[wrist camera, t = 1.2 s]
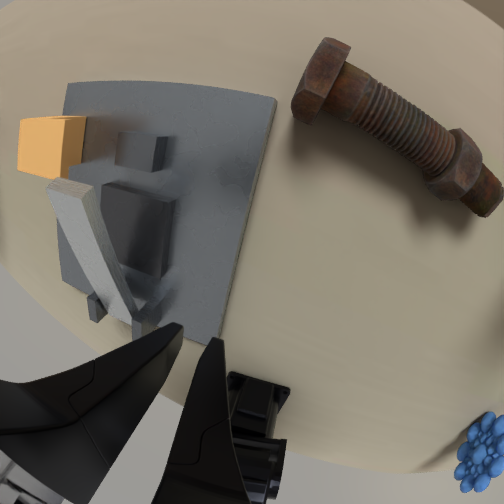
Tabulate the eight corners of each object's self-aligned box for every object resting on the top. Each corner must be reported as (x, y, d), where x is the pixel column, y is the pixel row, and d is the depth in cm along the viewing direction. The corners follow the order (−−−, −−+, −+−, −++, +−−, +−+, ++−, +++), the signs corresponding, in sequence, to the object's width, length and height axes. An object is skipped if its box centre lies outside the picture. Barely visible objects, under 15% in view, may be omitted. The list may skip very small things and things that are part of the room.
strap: (142, 318, 22) (137, 328, 22) (114, 306, 23) (109, 315, 22) (93, 186, 12) (80, 198, 11) (57, 176, 12) (45, 188, 11)
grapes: (464, 443, 26) (475, 499, 16) (439, 444, 27) (449, 507, 16) (512, 399, 21) (534, 458, 11) (491, 398, 22) (514, 466, 11)
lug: (106, 169, 19) (59, 181, 14) (60, 159, 19) (17, 170, 15) (112, 118, 17) (65, 119, 13) (64, 115, 18) (20, 119, 13)
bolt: (462, 196, 17) (302, 92, 17) (499, 157, 13) (329, 33, 13) (476, 250, 14) (279, 123, 14) (526, 207, 10) (316, 42, 10)
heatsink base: (219, 337, 25) (201, 375, 20) (70, 274, 26) (41, 295, 22) (277, 101, 16) (265, 87, 12) (79, 84, 18) (38, 81, 13)
